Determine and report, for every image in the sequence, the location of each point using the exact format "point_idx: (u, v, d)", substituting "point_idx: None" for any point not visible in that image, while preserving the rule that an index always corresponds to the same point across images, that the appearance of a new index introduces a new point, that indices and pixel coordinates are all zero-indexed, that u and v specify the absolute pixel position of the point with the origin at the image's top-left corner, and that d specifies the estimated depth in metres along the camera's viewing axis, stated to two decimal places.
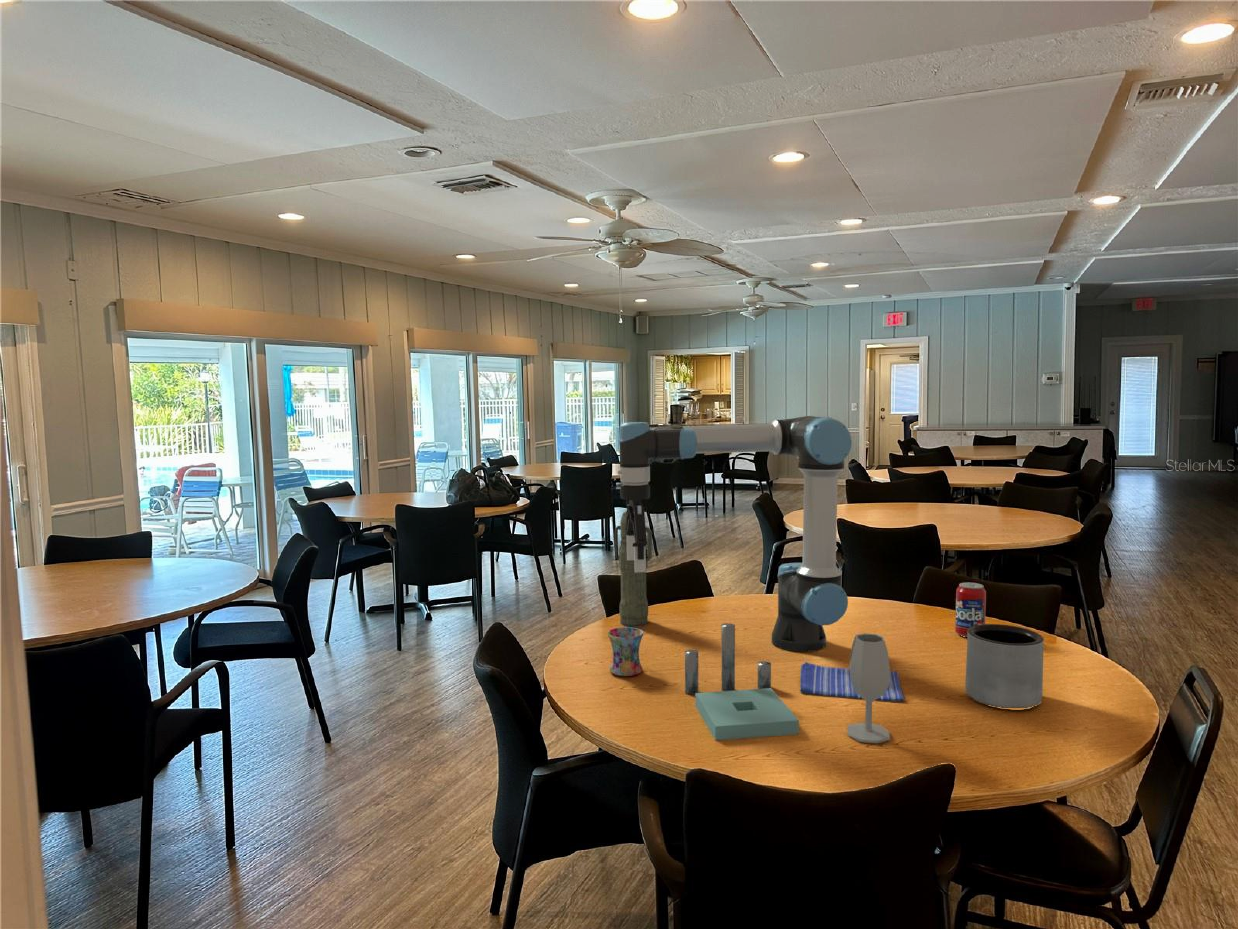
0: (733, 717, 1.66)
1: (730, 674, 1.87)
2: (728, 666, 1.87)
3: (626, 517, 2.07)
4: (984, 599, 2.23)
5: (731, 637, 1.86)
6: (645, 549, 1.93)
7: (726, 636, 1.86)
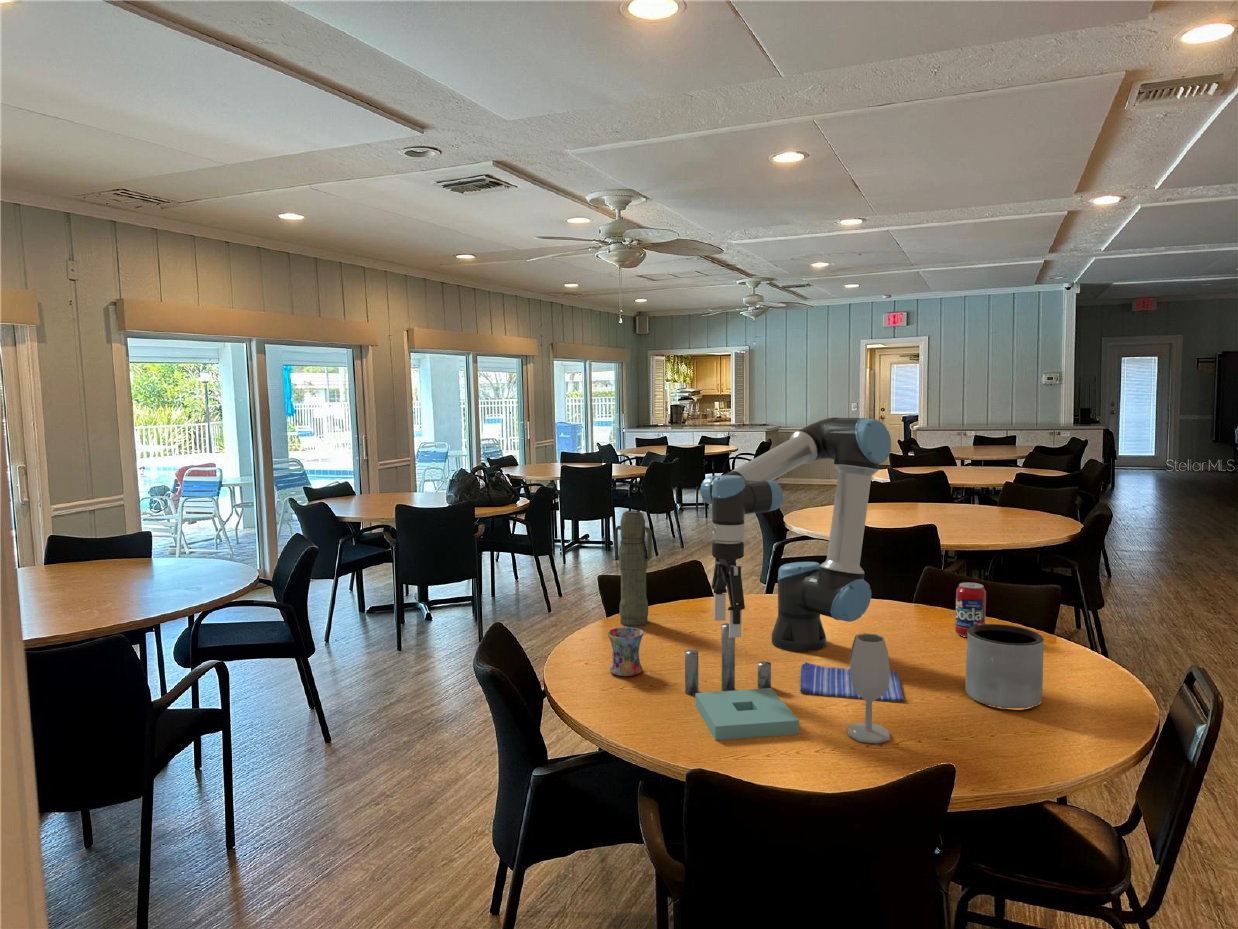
0: (733, 717, 1.66)
1: (730, 674, 1.87)
2: (728, 666, 1.87)
3: (714, 574, 1.94)
4: (984, 599, 2.23)
5: None
6: (741, 613, 1.80)
7: (726, 636, 1.86)
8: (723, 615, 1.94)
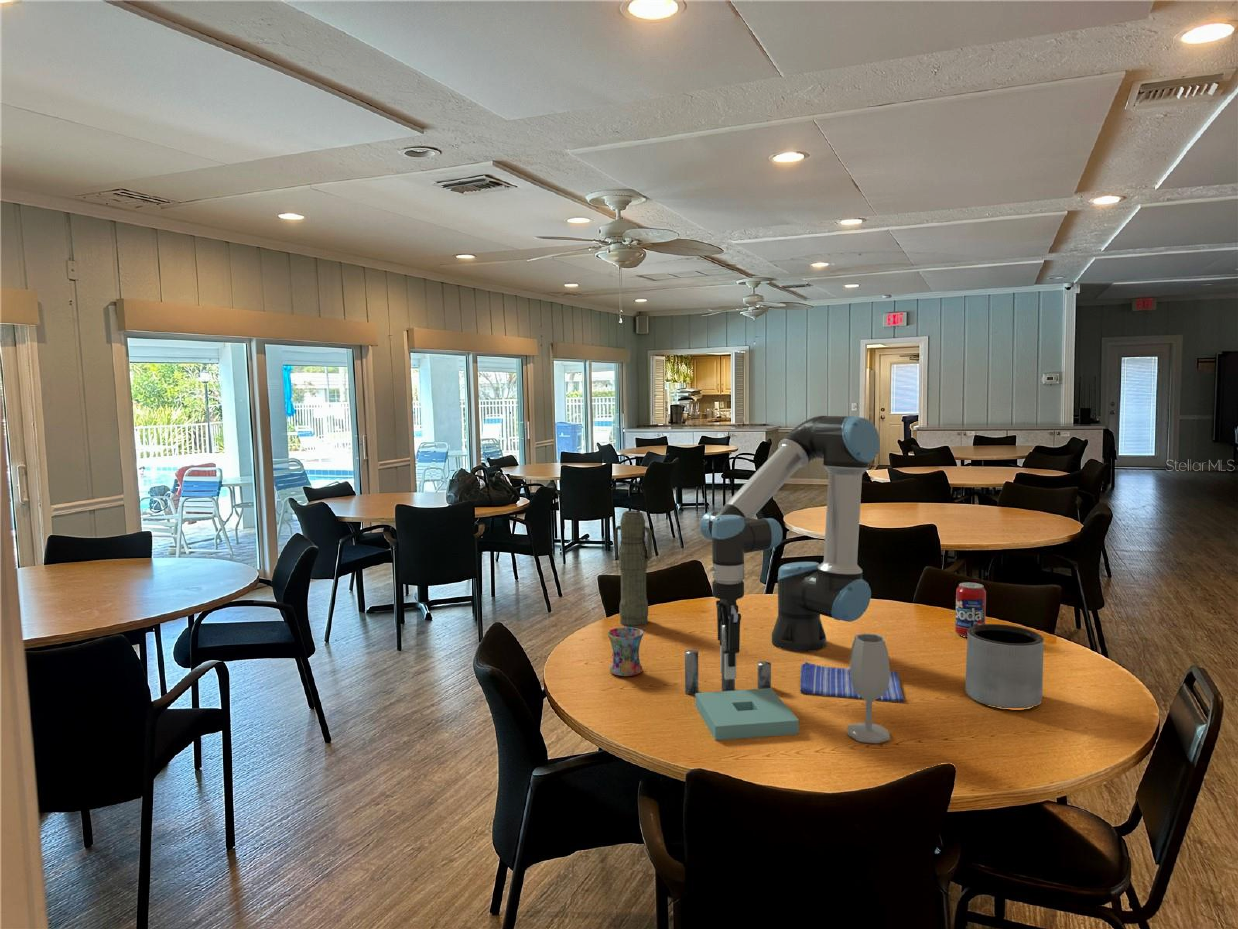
0: (733, 717, 1.66)
1: None
2: None
3: (717, 623, 1.93)
4: (984, 599, 2.23)
5: None
6: None
7: None
8: None
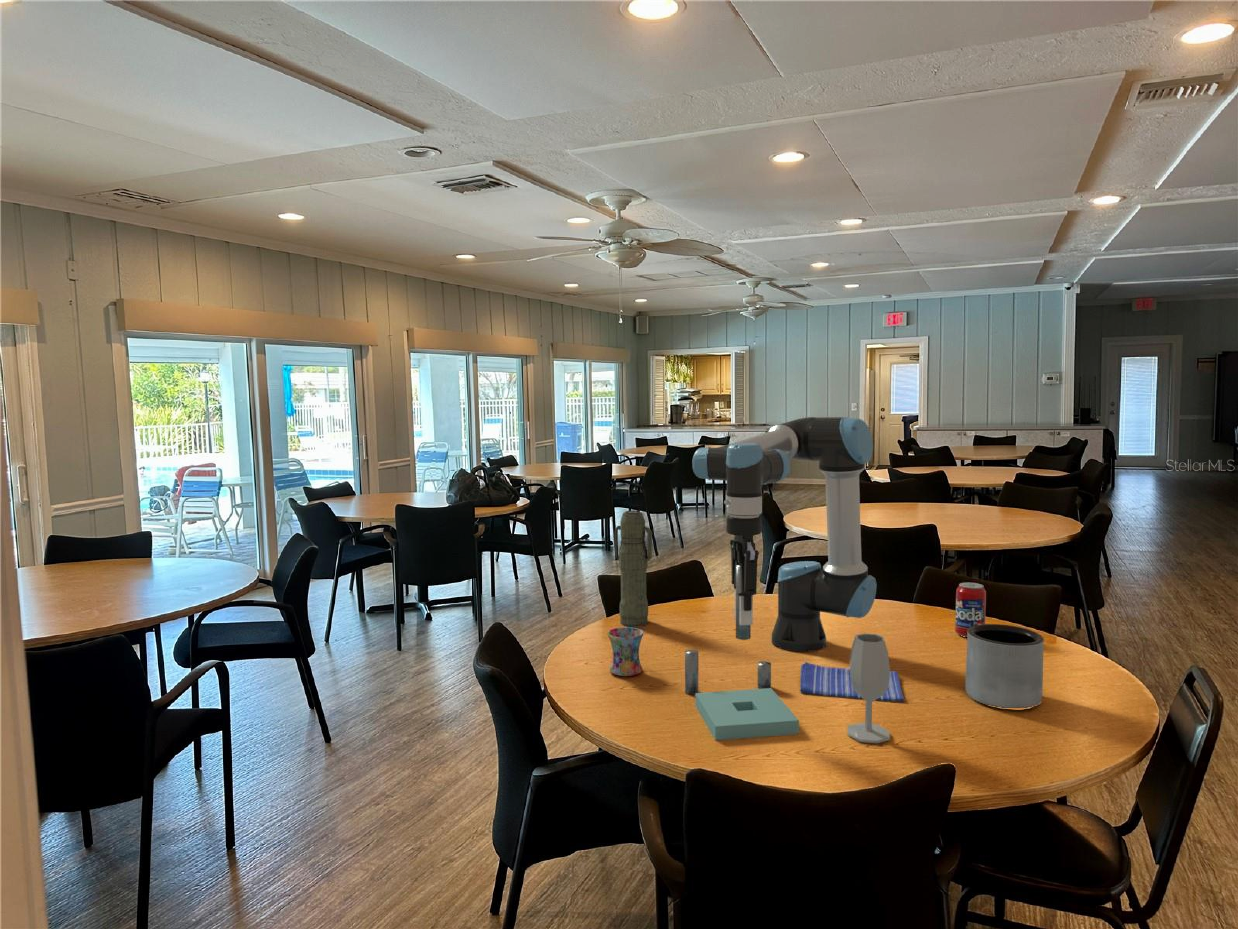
0: (733, 717, 1.66)
1: None
2: None
3: (731, 565, 1.74)
4: (984, 599, 2.23)
5: None
6: (752, 599, 1.68)
7: None
8: None
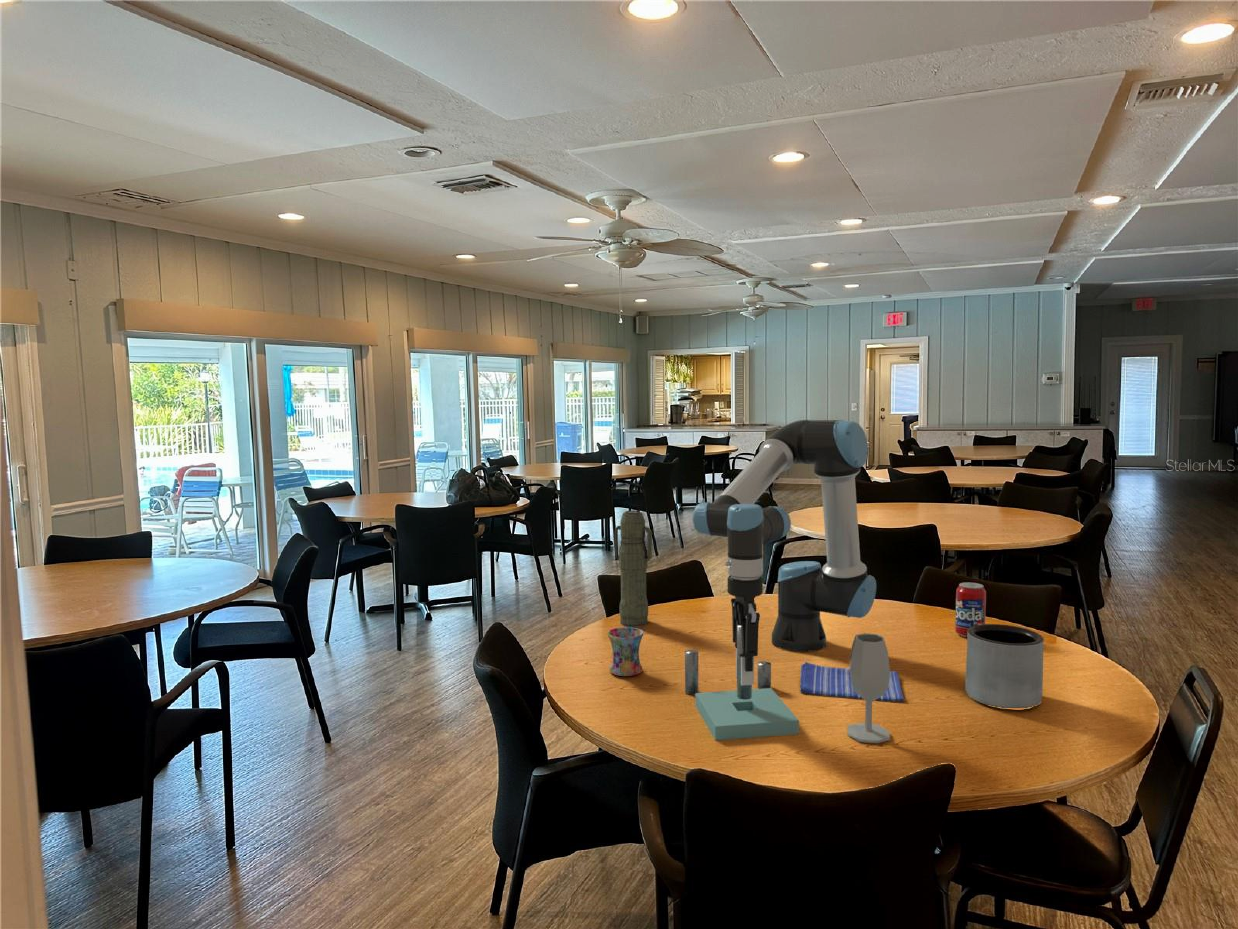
0: (733, 717, 1.66)
1: None
2: None
3: (732, 623, 1.75)
4: (984, 599, 2.23)
5: None
6: (753, 659, 1.69)
7: None
8: None
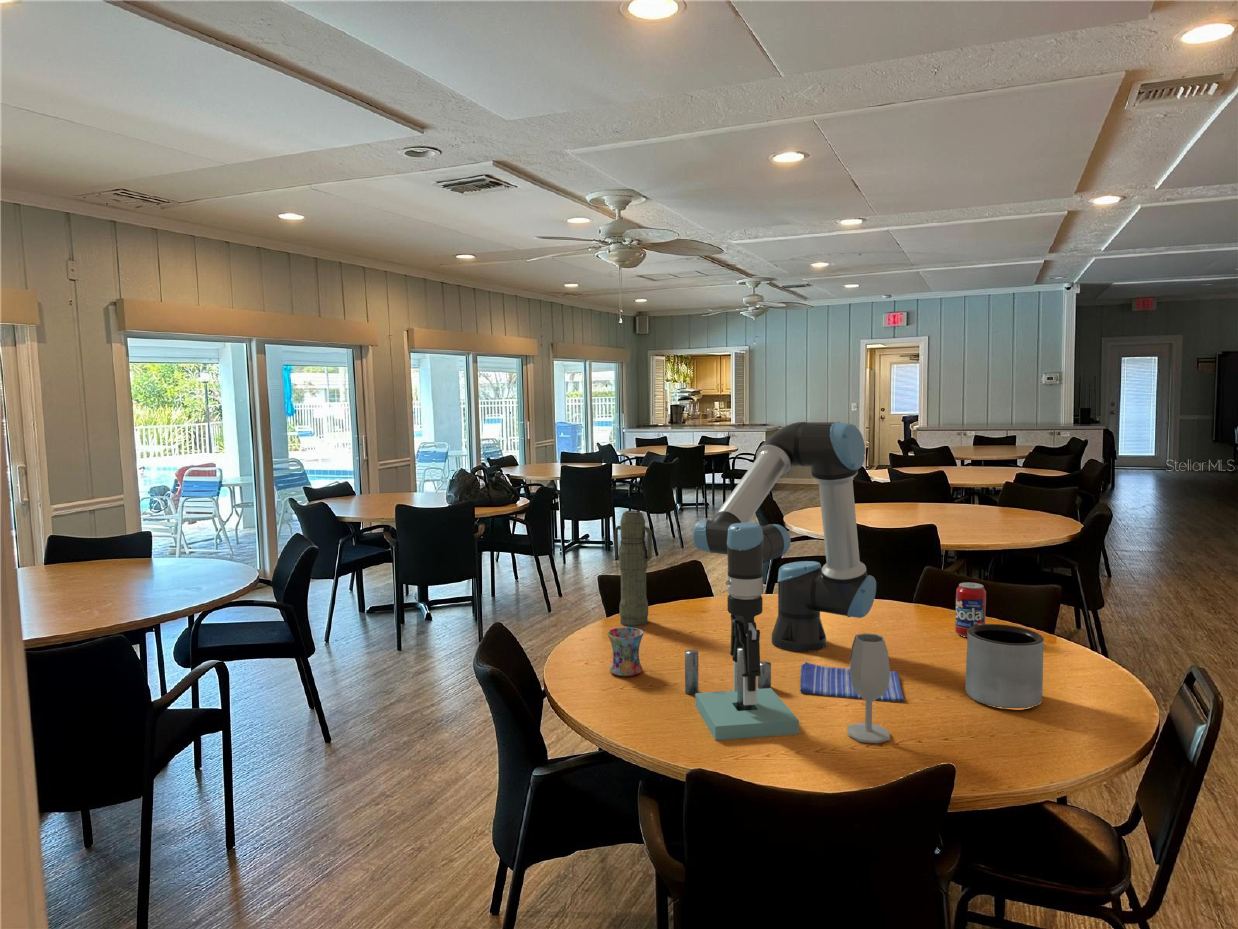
0: (733, 717, 1.66)
1: None
2: None
3: (731, 637, 1.77)
4: (984, 599, 2.23)
5: None
6: (756, 679, 1.67)
7: (743, 660, 1.69)
8: None
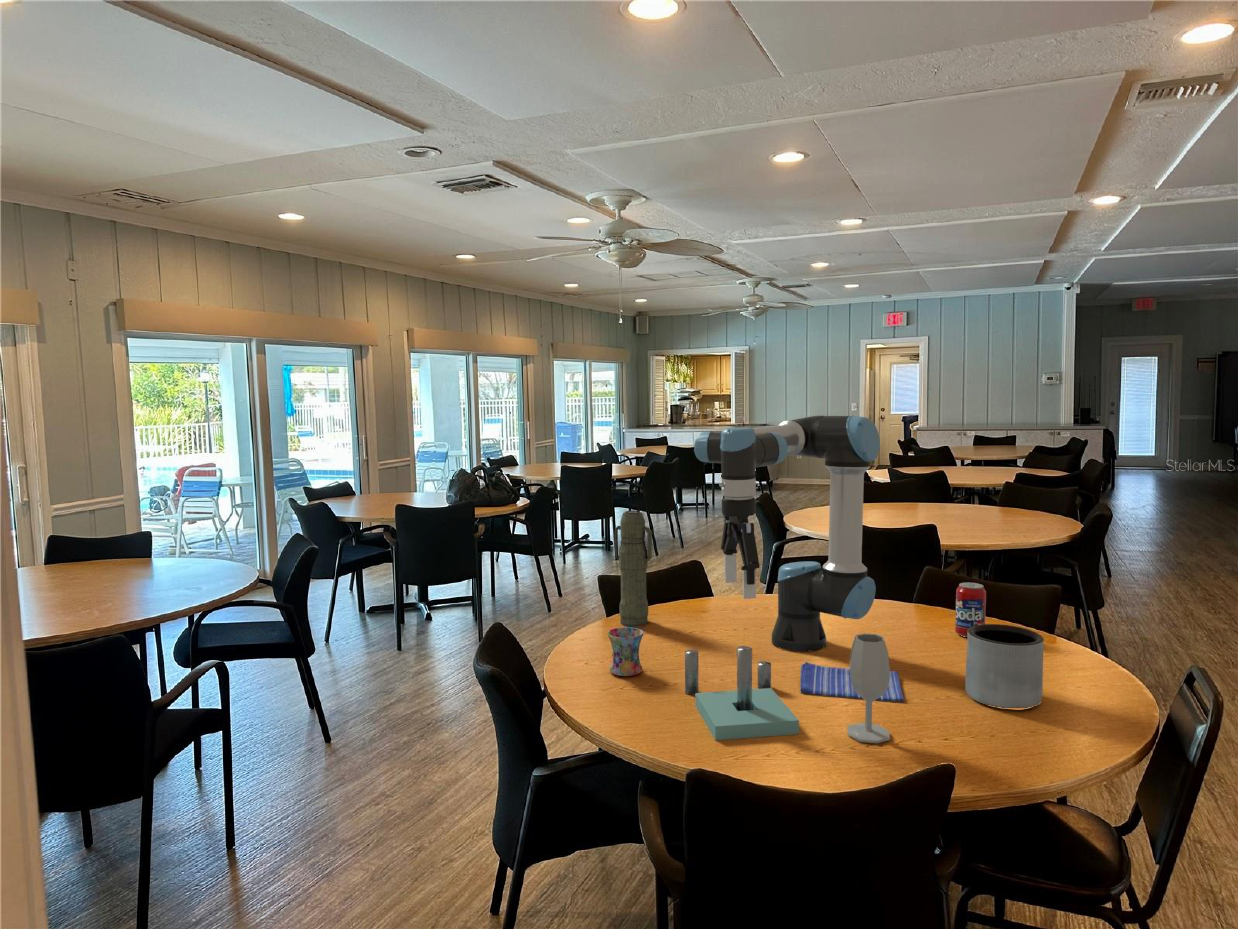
0: (733, 717, 1.66)
1: (747, 703, 1.70)
2: (744, 693, 1.70)
3: (723, 534, 1.83)
4: (984, 599, 2.23)
5: (748, 662, 1.70)
6: (755, 572, 1.69)
7: (743, 660, 1.69)
8: (734, 577, 1.83)
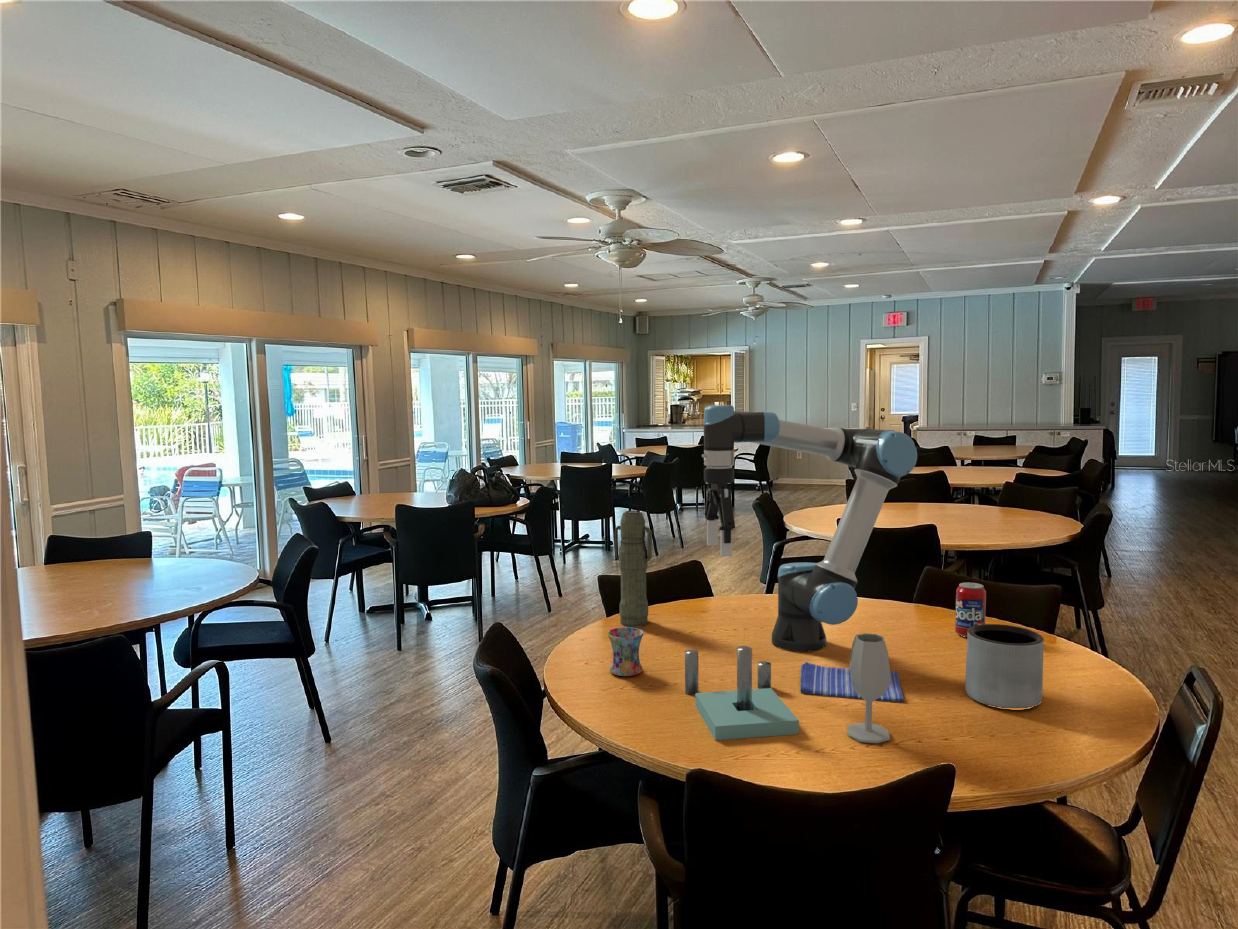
0: (733, 717, 1.66)
1: (747, 703, 1.70)
2: (744, 693, 1.70)
3: (706, 502, 2.05)
4: (984, 599, 2.23)
5: (748, 662, 1.70)
6: (731, 533, 1.91)
7: (743, 660, 1.70)
8: (715, 540, 2.04)
